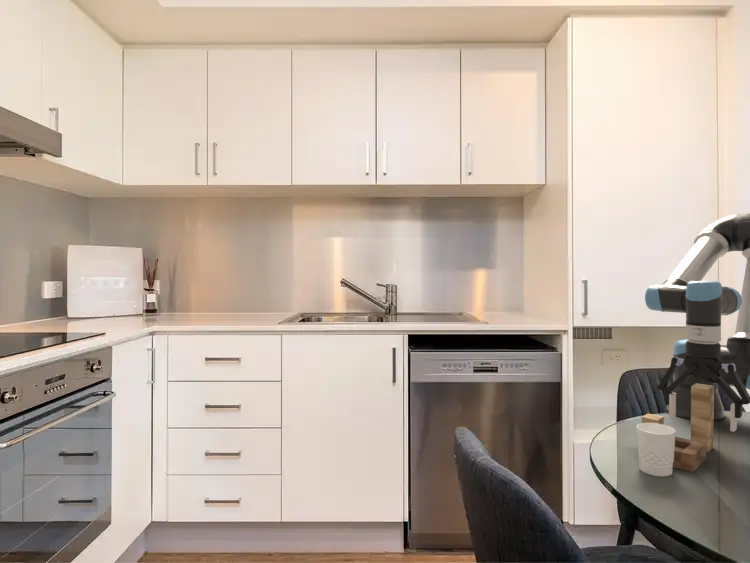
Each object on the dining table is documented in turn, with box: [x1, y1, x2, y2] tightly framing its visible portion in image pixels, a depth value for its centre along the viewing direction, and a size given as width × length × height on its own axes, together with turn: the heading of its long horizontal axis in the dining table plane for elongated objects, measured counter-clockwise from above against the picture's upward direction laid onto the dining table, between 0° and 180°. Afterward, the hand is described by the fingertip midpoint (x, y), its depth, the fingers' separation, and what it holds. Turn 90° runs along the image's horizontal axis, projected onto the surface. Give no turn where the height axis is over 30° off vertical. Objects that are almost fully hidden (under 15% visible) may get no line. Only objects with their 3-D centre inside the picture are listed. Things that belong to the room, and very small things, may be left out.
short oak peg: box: [641, 413, 665, 425], centre depth 134 cm, size 4×4×7 cm
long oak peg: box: [690, 383, 715, 452], centre depth 129 cm, size 4×4×16 cm
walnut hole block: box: [673, 436, 707, 473], centre depth 122 cm, size 10×10×4 cm
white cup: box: [636, 422, 676, 477], centre depth 117 cm, size 8×8×10 cm
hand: (701, 423), depth 129 cm, fingers open, 13 cm apart
